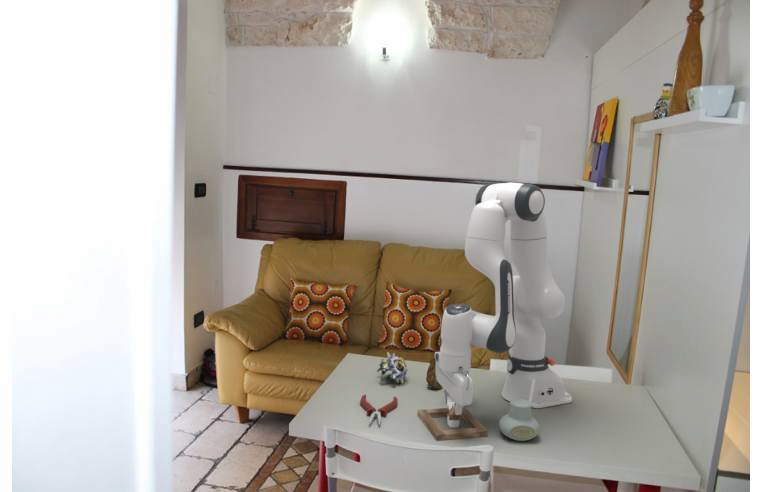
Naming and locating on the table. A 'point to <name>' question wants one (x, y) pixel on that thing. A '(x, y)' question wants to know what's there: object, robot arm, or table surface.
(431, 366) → the decorative stone
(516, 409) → the air freshener
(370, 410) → the pliers
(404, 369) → the passion flower
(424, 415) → the wooden frame
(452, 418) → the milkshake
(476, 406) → the table surface
